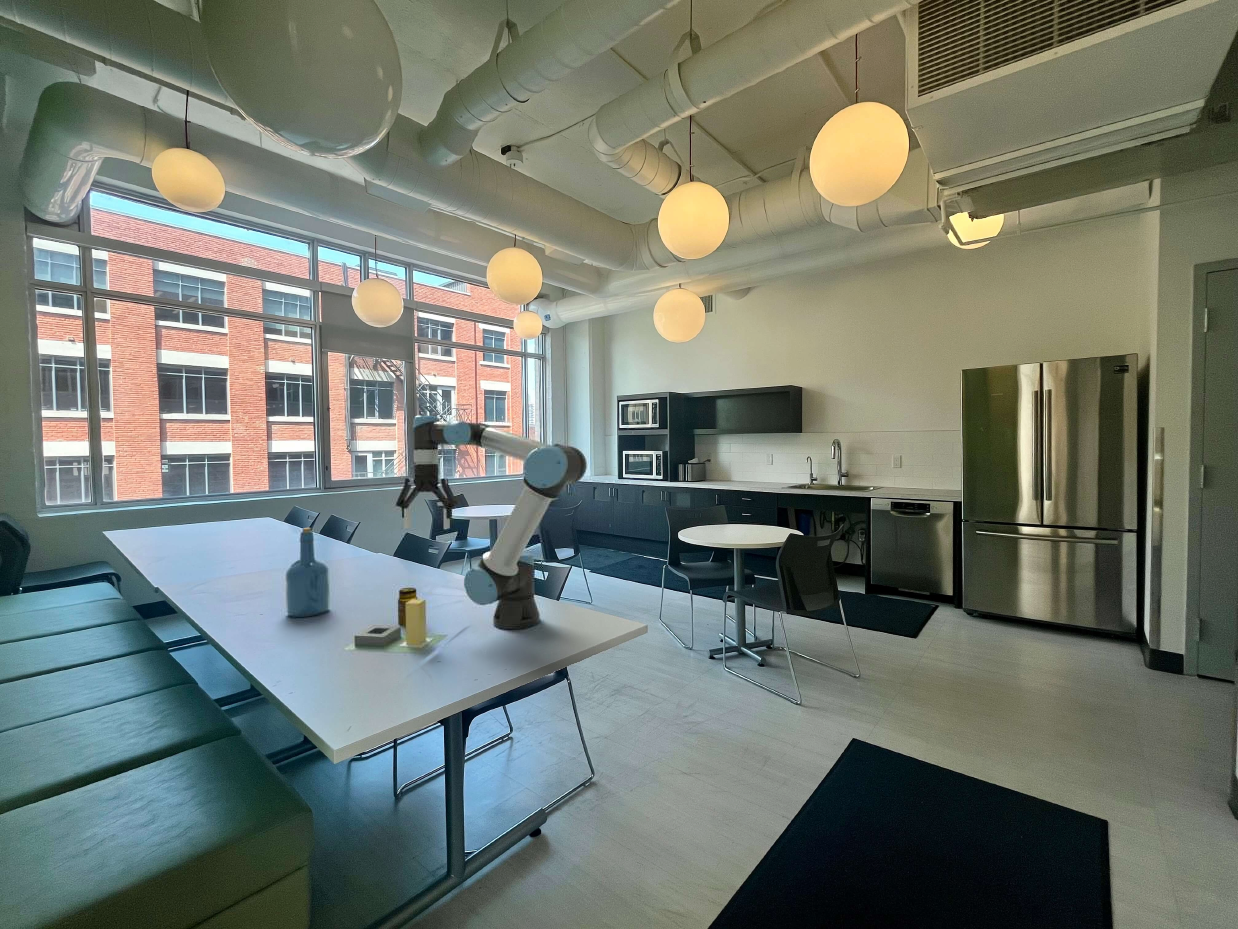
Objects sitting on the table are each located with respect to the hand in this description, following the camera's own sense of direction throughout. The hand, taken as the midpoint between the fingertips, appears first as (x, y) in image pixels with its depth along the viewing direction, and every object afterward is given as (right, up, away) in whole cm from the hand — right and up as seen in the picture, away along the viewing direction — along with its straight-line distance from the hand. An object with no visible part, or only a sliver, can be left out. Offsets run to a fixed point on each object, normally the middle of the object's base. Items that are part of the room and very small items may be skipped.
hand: (427, 528), depth 173 cm
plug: (+3, -31, -18) cm, 36 cm away
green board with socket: (-2, -32, -17) cm, 37 cm away
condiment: (-7, -32, 0) cm, 33 cm away
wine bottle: (-47, -32, +15) cm, 59 cm away
